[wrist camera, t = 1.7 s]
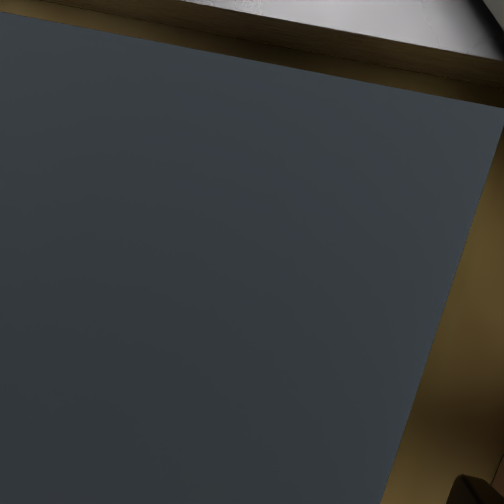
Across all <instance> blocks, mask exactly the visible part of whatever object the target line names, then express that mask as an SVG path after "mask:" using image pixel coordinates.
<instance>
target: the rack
mask: <svg viewBox="0 0 504 504" xmlns="http://www.w3.org/2000/svg"><path fill="white" fill-rule="evenodd" d="M40 1H46V2H51V3H56V4H61V5H67V6H72V7H77V8H82V9H88V10H93V11H98V12H103V13H109V14H114V15H119V16H124V17H130V18H135V19H140V20H145V21H151V22H156V23H161V24H166V25H172V26H177V27H182V28H187V29H193V30H198V31H203V32H208V33H214V34H219V35H224V36H229V37H235V38H240V39H245V40H250V41H256V42H261V43H266V44H271V45H277V46H282V47H287V48H292V49H298V50H303V51H308V52H313V53H319V54H324V55H329V56H335V57H340V58H345V59H350V60H356V61H361V62H366V63H371V64H377V65H382V66H387V67H392V68H398V69H403V70H408V71H413V72H419V73H424V74H429V75H434V76H440V77H445V78H450V79H455V80H461V81H466V82H471V83H476V84H482V85H487V86H492V87H497V88H503V89H504V31H503V29H502V28H501V26H500V25H499V23H498V22H497V20H496V19H495V17H494V15H493V14H492V13H491V11H490V10H489V8H488V7H487V6H486V4H485V3H484V2H483V0H40Z"/></svg>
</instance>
